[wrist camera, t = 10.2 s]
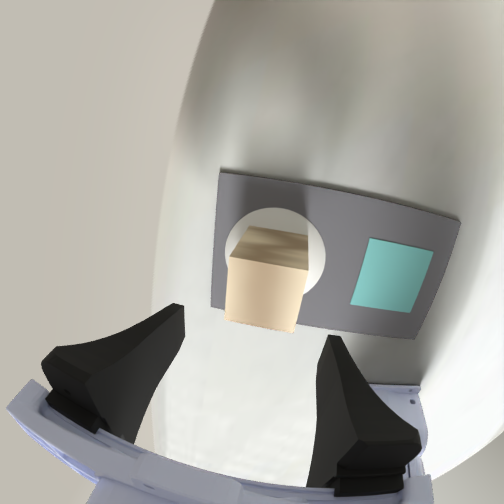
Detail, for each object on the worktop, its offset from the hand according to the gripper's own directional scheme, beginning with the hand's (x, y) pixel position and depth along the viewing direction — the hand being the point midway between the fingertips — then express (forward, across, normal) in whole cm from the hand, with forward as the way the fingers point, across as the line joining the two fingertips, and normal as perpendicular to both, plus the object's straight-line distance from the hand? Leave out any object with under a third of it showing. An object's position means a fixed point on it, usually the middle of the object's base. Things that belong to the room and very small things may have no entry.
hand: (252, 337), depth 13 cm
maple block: (+10, 0, 0) cm, 10 cm away
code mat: (+10, -5, 0) cm, 11 cm away
